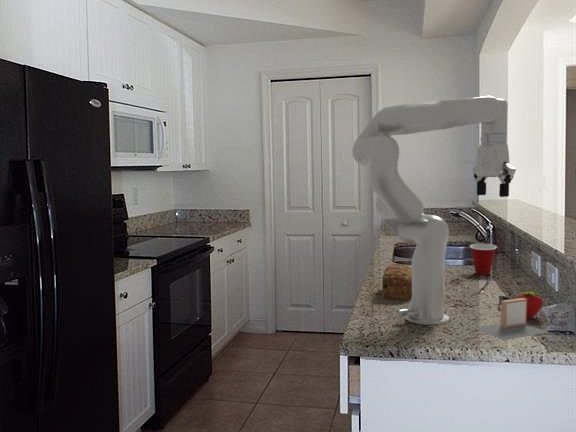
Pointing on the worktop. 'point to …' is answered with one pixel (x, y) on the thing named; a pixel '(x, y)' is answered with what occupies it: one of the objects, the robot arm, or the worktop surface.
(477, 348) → the worktop surface
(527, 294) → the strawberry
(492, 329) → the mat
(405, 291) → the bread
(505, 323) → the tile
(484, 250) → the plastic cup
